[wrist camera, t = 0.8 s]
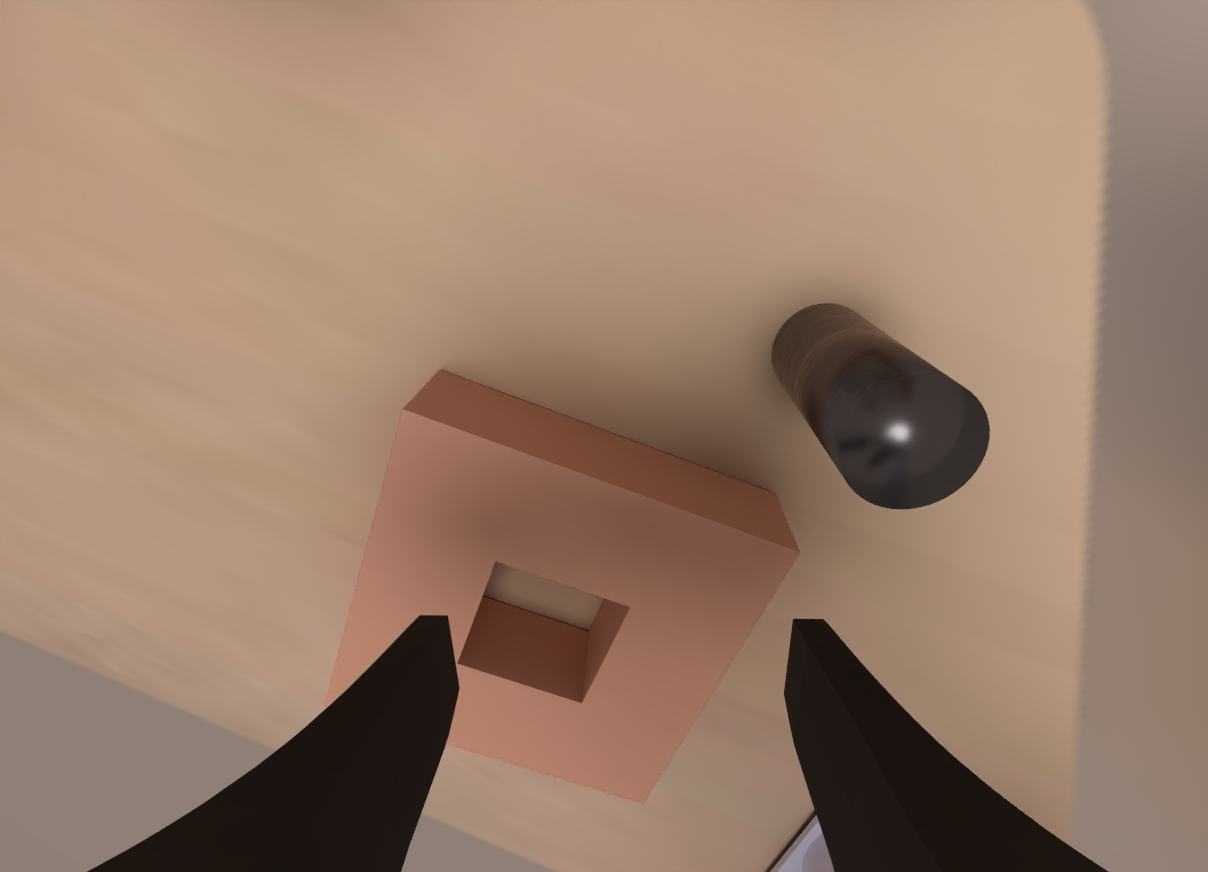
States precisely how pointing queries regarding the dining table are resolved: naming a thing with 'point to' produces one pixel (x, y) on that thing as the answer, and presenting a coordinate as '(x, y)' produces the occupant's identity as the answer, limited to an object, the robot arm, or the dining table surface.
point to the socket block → (563, 581)
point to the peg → (879, 408)
